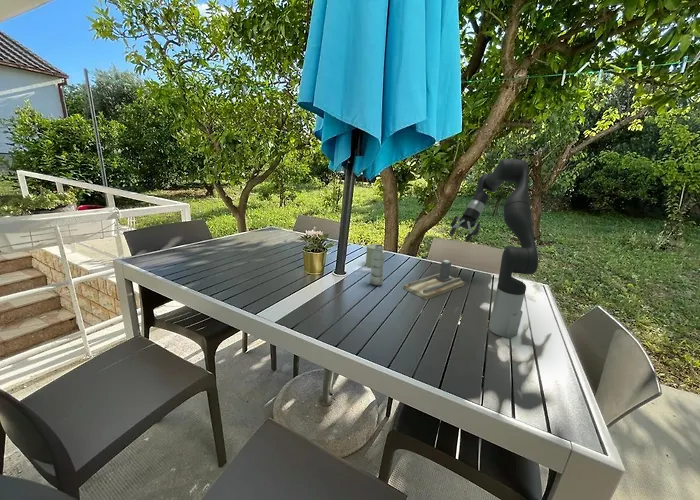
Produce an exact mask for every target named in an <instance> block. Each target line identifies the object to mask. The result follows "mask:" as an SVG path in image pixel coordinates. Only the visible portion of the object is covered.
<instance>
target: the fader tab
mask: <svg viewBox="0 0 700 500" xmlns="http://www.w3.org/2000/svg"><path fill="white" fill-rule="evenodd" d="M440 263H441V264H440V269H439V273H440V275H439V276H436V279H437V280H440V281H442V282H447V281H450V280H452V278H450V277H449V276H450V272H451V267H452V262H450V260H448V259H444V260H443V261H441V262H440Z"/></svg>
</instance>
